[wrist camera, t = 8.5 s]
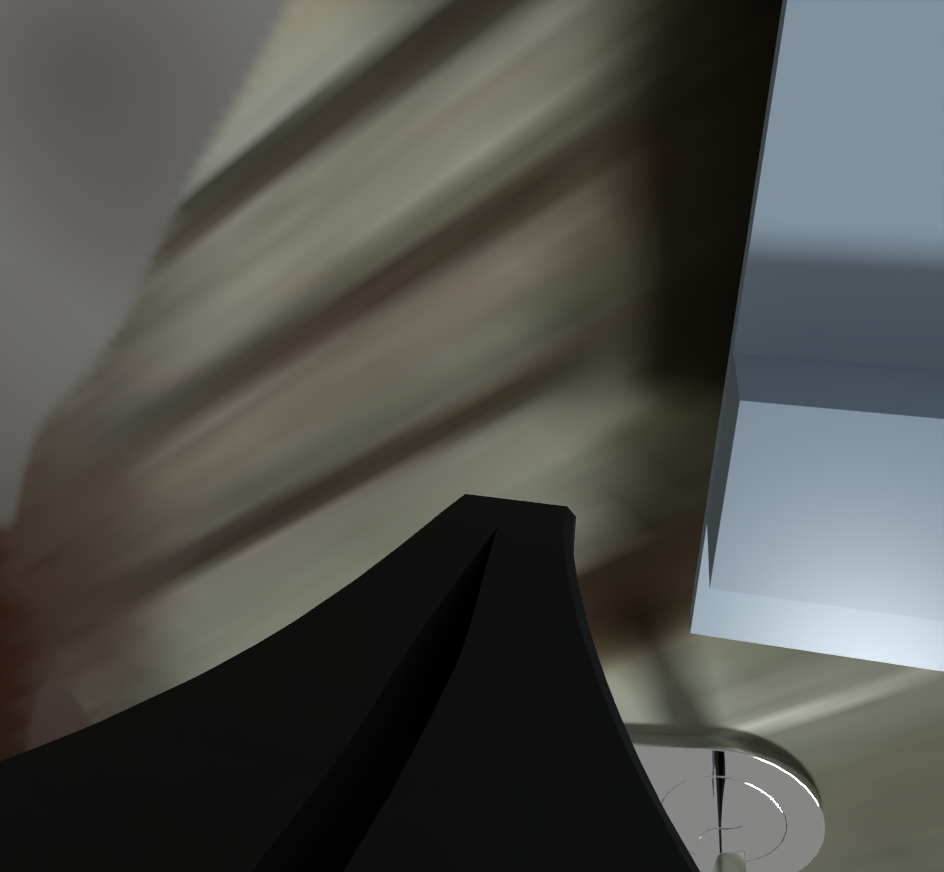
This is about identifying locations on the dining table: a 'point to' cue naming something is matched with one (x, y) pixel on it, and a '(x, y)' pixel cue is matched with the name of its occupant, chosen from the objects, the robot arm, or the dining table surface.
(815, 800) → the stand
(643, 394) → the dining table surface
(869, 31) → the duct cover
